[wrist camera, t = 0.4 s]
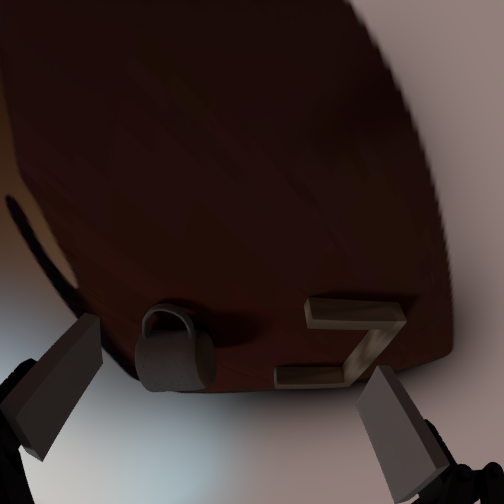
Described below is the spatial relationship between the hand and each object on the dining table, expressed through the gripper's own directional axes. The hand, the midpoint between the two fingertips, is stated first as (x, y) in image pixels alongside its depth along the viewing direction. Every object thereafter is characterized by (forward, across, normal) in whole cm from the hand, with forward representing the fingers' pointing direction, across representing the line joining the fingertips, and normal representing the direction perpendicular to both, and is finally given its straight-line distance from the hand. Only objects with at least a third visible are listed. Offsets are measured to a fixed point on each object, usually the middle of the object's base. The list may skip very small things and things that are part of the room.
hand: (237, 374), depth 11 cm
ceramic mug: (+20, -6, -11) cm, 23 cm away
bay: (+20, +14, -10) cm, 27 cm away
